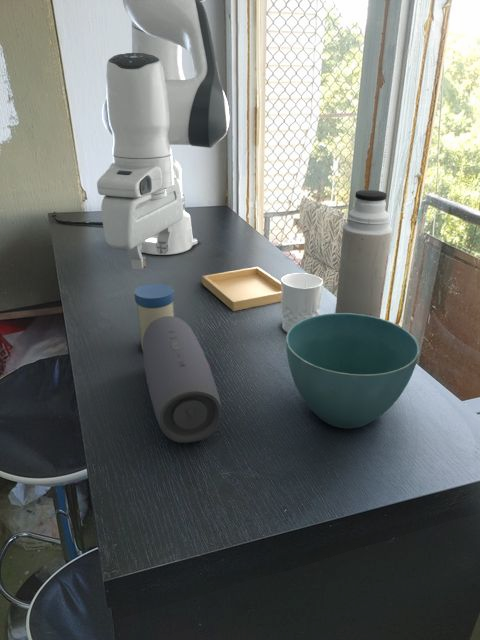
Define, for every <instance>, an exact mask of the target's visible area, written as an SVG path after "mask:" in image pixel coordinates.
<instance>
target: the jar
mask: <svg viewBox="0 0 480 640" xmlns="http://www.w3.org/2000/svg"><path fill="white" fill-rule="evenodd" d="M136 309H137V318H138V327H139V336H140V337H139V338H140V346H141V350H142V351H143V336H144V333H145V331H146V329H147V327H148V326H149V325H150V324H151V323H152V322H153V321H154V320H156V319H158V318H161V317H165V316H173V317H175V311H174V301H173V302H172V303H171V304H168V305H166V306H162V307H154V308H149V307H142V306H140V305H138V304H137V303H136Z"/></svg>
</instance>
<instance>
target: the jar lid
mask: <svg viewBox="0 0 480 640" xmlns="http://www.w3.org/2000/svg"><path fill="white" fill-rule="evenodd" d="M134 301H135V303H136V305H137V304H138V305H140V306H142V307H149V308H154V307H162V306H166V305H168V304H171V303H172V302H173V303H174V301H175V289H174V288H173V287H172V286H171V285H168V284H165V283H148V284H147V283H146V284H143V285H140V286H139V287H136V288H135V290H134Z"/></svg>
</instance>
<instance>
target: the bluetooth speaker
mask: <svg viewBox="0 0 480 640" xmlns="http://www.w3.org/2000/svg"><path fill="white" fill-rule="evenodd" d="M142 354H143V355H142V356H143V364H144V372H145V376H146V378H145V379H146V383H147V388H148V393H149V398H150V401H151V404H152V407H153V410H154V414H155V417H156V420H157V423H158V425H159V428H160V429H161V431H162V433H163V434H164V435H165V436H166V437H167V438H168V439H170V440H171V441H174V442H176V443H181V444H182V443H185V444H186V443H194V442H198V441H201V440H205V439H206V438H208V437H210V436H211V435H213V433H214V432H215V431H216V430H217V428H218V427H219V426H220V424H221V421H222V417H223V411H222V410H223V409H222V404H221V403H222V402H221V399H220V394H219V391H218V388H217V385H216V382H215V378H214V376H213V373H212V371H211V366H210V363H209V362H208V359H207V357H206V355H205V353H204V351H203V349H202V346H201V344H200V342H199V340H198V338H197V336H196V333H195V332H194V331H193V330H192V328H191V327H190V325H189V324H188V323H187V322H186V321H185V320H183V319H182V318H179V317H178V316H174V317H173V316H165V317H161V318H158V319H156V320H154V321H153V322H152V323H151V324H150V325H149V326H148V327H147V329H146V331H145V333H144V336H143V350H142Z"/></svg>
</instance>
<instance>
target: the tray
mask: <svg viewBox="0 0 480 640" xmlns="http://www.w3.org/2000/svg"><path fill="white" fill-rule="evenodd" d="M201 278H202V285H203V286H204V287H205V288H206V289H207V290H208V291H210V293H211V294H213V295H214V296H215V297H216V298H218V299H219V300H220V302H222V303H223V304H224V305H225V306H226V307H228V308H229V309H230V310H231V311H233V312H237V311H241V310H245V309H246V310H247V309H252V308H256V307H261V306H265V305H270V304H276V303H281V280H279V279H277V278H276V277H274V276H273V275H271V274H269V273H268V272H267V271H265V270H264V269H262V268H261V267H259V266H254V267H248V268H241V269H237V270H231V271H224V272H218V273H212V274H207V275H202V276H201Z"/></svg>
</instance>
